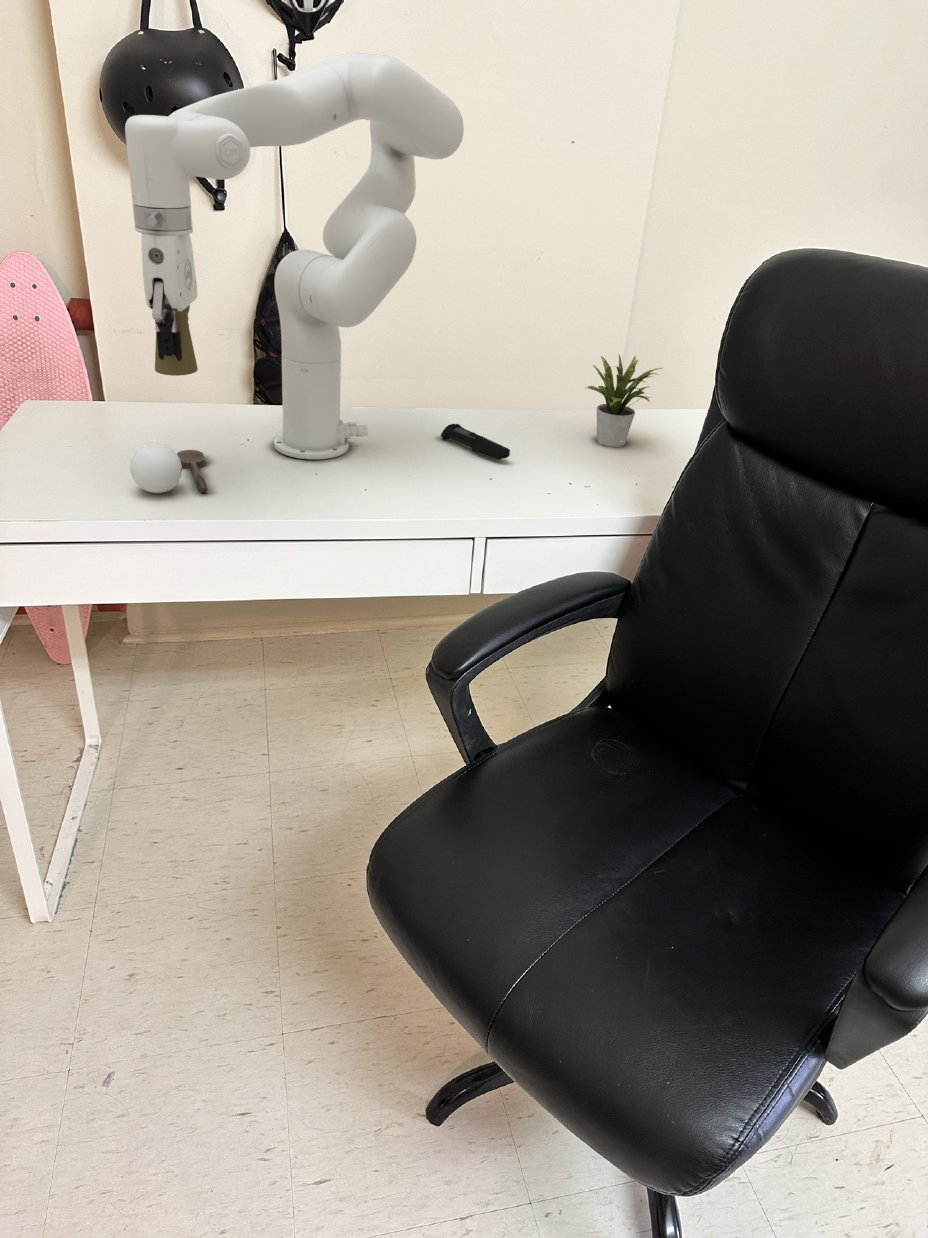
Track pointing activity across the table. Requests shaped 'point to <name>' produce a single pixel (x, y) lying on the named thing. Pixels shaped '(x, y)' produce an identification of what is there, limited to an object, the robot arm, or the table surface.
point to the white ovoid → (155, 468)
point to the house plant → (617, 403)
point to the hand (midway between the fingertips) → (175, 353)
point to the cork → (188, 356)
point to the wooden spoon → (194, 466)
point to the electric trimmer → (475, 442)
